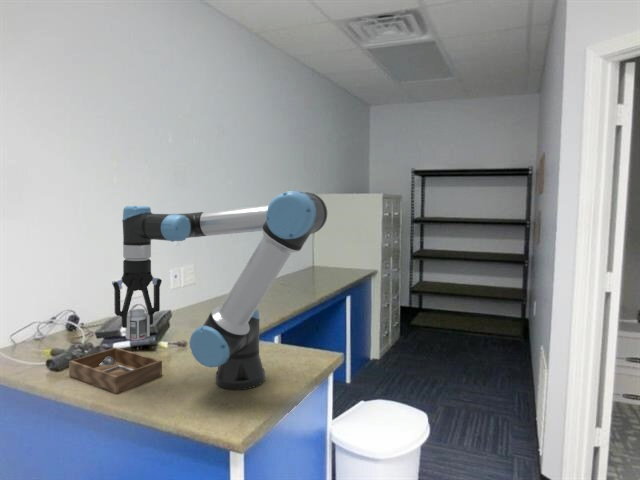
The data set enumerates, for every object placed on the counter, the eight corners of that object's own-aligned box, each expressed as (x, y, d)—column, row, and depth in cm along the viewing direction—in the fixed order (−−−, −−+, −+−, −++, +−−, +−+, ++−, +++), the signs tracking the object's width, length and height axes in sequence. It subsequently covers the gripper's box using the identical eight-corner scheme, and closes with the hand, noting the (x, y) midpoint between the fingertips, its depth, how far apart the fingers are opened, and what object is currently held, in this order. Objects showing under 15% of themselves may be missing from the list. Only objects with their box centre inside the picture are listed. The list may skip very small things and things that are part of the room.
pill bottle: (145, 334, 135) (145, 307, 135) (146, 339, 131) (146, 311, 130) (128, 336, 133) (128, 308, 132) (129, 341, 129) (129, 312, 128)
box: (162, 376, 141) (161, 360, 141) (116, 394, 128) (115, 377, 127) (115, 361, 154) (115, 347, 154) (69, 376, 140) (68, 361, 140)
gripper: (165, 255, 138) (165, 329, 140) (101, 258, 128) (102, 337, 130) (171, 259, 132) (171, 335, 134) (105, 262, 122) (106, 344, 124)
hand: (137, 336), depth 132 cm, fingers closed on pill bottle, 5 cm apart
